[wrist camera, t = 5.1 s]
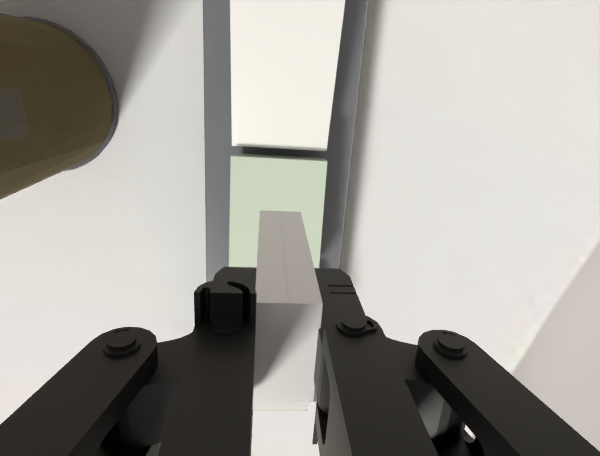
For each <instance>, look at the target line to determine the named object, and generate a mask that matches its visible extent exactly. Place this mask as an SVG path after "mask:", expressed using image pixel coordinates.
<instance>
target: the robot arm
mask: <svg viewBox="0 0 600 456" xmlns="http://www.w3.org/2000/svg"><path fill="white" fill-rule="evenodd" d="M194 312H195V327H194V330H193V332H192V333H190V334H189V335H186V336H184V337H182V338H178V339H175V340H170V341H165V342H160V343H157V341H156V336H155V335H154V334H153V333H152V332H150V331H149V330H146V329H143V328H140V327H122V328H117V329H113V330H111V331H108V332H105V333H103V334H101V335H99V336H98V337H96V338H95V339H93V340H92V341H91V342H90V343H89V344H88V345H87V346H85V347H84V348H83V349H82V350H81V351H80V352H79V353H78V354H77V355H76V356H75V357H73V358H72V359H71V360H70V361H69V362H68V363H67V364H66V365H65V366H64V367H63V368H62V369H60V370H59V371H58V372H57V373H56V374H55V375H54V376H53V377H52V378H51V379H50V380H48V381H47V382H46V383H45V384H44V385H43V386H42V387H41V388H40V389H39V390H38V391H37V392H35V393H34V394H33V395H32V396H31V397H30V398H29V399H28V400H27V401H26V402H25V403H23V404H22V405H21V406H20V407H19V408H18V409H17V410H16V411H15V412H14V413H13V414H12V415H10V416H9V417H8V418H7V419H6V420H5V421H4V422H3V423H2V424H1V425H0V456H157V455H158V456H251V440H252V415H253V402H313V400H314V390H315V392H316V398H317V404H316V414H315V424H314V434H313V444H317V442H318V445H319V452H320V456H600V452H599V451H598V450H597V449H596V448H595V447H594V446H592V445H591V444H590V443H589V442H588V441H587V440H585V439H584V438H583V437H582V436H581V435H580V434H579V433H578V432H576V431H575V430H574V429H573V428H572V427H571V426H569V425H568V424H567V423H566V422H565V421H564V420H563V419H561V418H560V417H559V416H558V415H557V414H556V413H555V412H553V411H552V410H551V409H550V408H549V407H548V406H547V405H545V404H544V403H543V402H542V401H541V400H539V399H538V398H537V397H536V396H535V395H534V394H533V393H532V392H530V391H529V390H528V389H527V388H526V387H525V386H524V385H522V384H521V383H520V382H519V381H518V380H516V378H514V377H513V376H512V375H511V374H510V373H509V372H507V371H506V370H505V369H504V368H503V367H502V366H501V365H499V364H498V363H497V362H496V361H495V360H494V359H493V358H491V357H490V356H489V355H488V354H487V353H486V352H485V351H483V350H482V349H481V348H480V347H479V346H478V345H476V344H475V343H474V342H472V341H471V340H469V339H468V338H466V337H464V336H462V335H459V334H457V333H455V332H452V331H447V330H431V331H428V332H425V333H423V334H422V335H421V336H420V337H419V341H418V345H413V344H409V343H404V342H399V341H396V340H392V339H390V338H387V337H385V335H384V332H383V330H382V328H381V327H380V325H379V324H378V323H377V322H376V321H375V320H373V319H371V318H370V317H368V316H365V313H364V311H363V308H362V306H361V303H360V301H359V298H358V296H357V295H356V291H355V289H354V287H353V284H352V281H351V279H350V276H348V275H347V274H346V273H345V272H343V271H342V270H341V269H334V268H314V265H313V261H312V257H311V253H310V249H309V244H308V240H307V236H306V232H305V228H304V224H303V219H302V215H301V212H290V211H266V210H260V219H259V236H258V253H257V268H255V267H223V268H222V269H220V270H219V271H218V272H217V273H216V274H215V276H214V279H213V281H209V282H206V283H204V284H202V285H200V286H199V287H198V288H197V289H196V290H195V292H194ZM465 424H466V425H467V427H468V428H469V429H470V430H471V431H472V432H473V434H474V435H475V436H476V438H475V440H474V439H473V438H472V437H471V436H470V435H469V434H468V433H467V432H466V431H465V430H464V428H465Z"/></svg>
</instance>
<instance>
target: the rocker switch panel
mask: <svg viewBox="0 0 600 456" xmlns="http://www.w3.org/2000/svg"><path fill="white" fill-rule="evenodd" d="M368 1H369V0H345V7H344V15H343V23H342V31H341V39H340V47H339V55H338V63H337V71H336V79H335V87H334V95H333V103H332V111H331V119H330V127H329V135H328V143H327V151H316V150H298V149H280V148H263V147H245V146H232V118H231V40H230V0H203V41H204V122H205V204H206V282H209V281H213V279H214V276H215V274H216V273H217V272H218V271H219V270H220V269H222V268H223V267H229V226H230V163H231V155H232V154H233V153H243V154H261V155H279V156H298V157H316V158H324V159H325V160H326V161H327V173H326V186H325V198H324V211H323V224H322V237H321V249H320V262H319V268H334V269H339V267H340V258H341V248H342V239H343V230H344V221H345V212H346V203H347V193H348V184H349V175H350V166H351V157H352V148H353V138H354V129H355V120H356V111H357V102H358V93H359V84H360V74H361V65H362V56H363V47H364V38H365V29H366V19H367V10H368ZM313 401H317V398H316V392H315V390H314V400H313Z"/></svg>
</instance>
